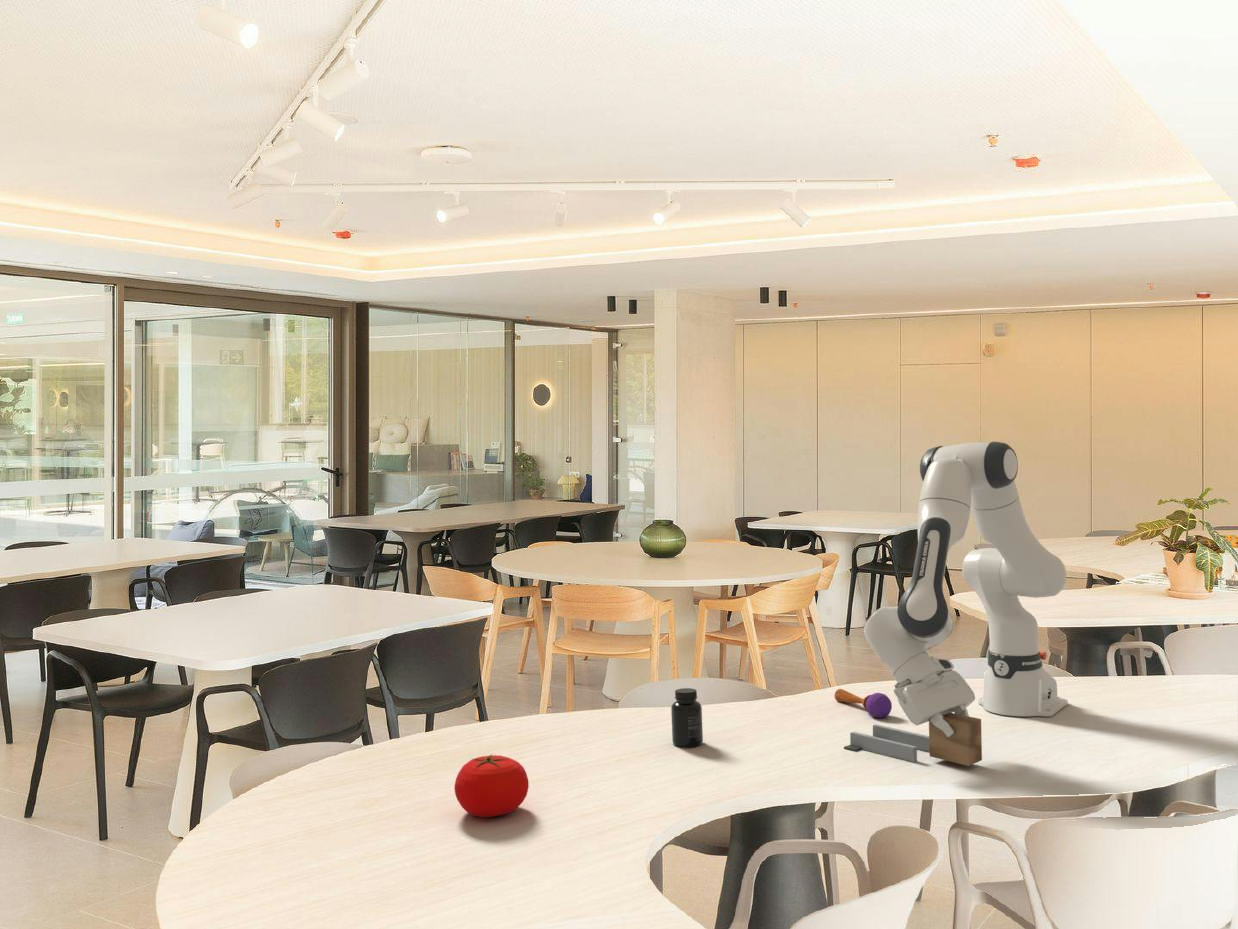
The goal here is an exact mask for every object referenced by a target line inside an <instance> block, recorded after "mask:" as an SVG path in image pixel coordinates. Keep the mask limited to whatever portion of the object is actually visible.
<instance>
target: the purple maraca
mask: <svg viewBox="0 0 1238 929" xmlns="http://www.w3.org/2000/svg"><path fill="white" fill-rule="evenodd" d="M834 699H835V701H836V702H838V703H847V704H848V703H849V704H850V703H851V704H861V705H862V706H863V708H864V710H865V711H866V712H867V713H868V714H869V715H870V716H871V718H872V717H873V718H875V719H884V718H886V717H888V716H889V715H890V713H891V712H892V709H893V708H892V706H893V705H892V704H893V703H892V701H891V699H890V698H889V697H888V696H887V694H886V693H885V694H884V693H881V692H874V693H872V694H869V695H867V696H865V697H864V698H862V697H860V696H858V695H855V694H853V693H851V692H849V691H847V690H846V689H845V690H844V689H842V688H838V689H836V691H835V692H834Z"/></svg>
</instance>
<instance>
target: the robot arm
mask: <svg viewBox="0 0 1238 929" xmlns="http://www.w3.org/2000/svg"><path fill="white" fill-rule="evenodd" d="M1018 462H1019V461H1018V457H1017V454H1016V452H1015V450H1014V448H1012V447H1011V446H1010V445H1009V444H1008V443H1005V442H1003V441H1002V442H1001V441H1000V442H999V441H991V442H981V441H979V442H978V441H977V442H976V441H973V442H972V441H971V442H964V443H957V444H952V445H946V446H943V445H939V446H935V447H932V448H929V449H927V450H926V451H925V453H924V454H923V456H922V457H921V459H920V464H919V473H920V478H921V480H922V485H921V489H920V494H919V499H918V503H917V504H918V505H917V513H916V514H917V519H916V524H917V525H916V527H917V528H916V530H917V547H916V548H917V549H916V552H915V553H916V554H915V559H914V564H913V570H912V577H911V578H910V582H909V585H908V586H907V588H906V590H904V593H903V594H902V595H901V597H900V599H899V601H898V604H897V605H896V606H881V607H879V608H878V609H876V610H875V611H874V612H872V613H871V615H869V617H868V618H867V620H866V622H865V623H864V627H863V634H864V637H865V638H866V641H867V643H868V644H869V646H870V647H871V649H872V650H873V652H874V653H875V655H876V656H877V657H878V658H879V660H880V661H881V662H882V663H884V664H885V665H886V666H887V668H888V669H889V671H890V673H891V676H892V677H893V678H894V680H895V681H896V683H894V685H893V686H894V687H893V693H894V695H895V696H896V699H897V702H898V704H899V706H900V708H901V709H902V711H903V712H904V714H905V716H906V717H907V719H908V720H909V722H910V723H912V724H913V725H915V726H920V725H922V724H925V723H927V722H928V723H929V721H931V722H932V723H933V725H935V726H936V727H938V728H939V729H941V730H943V732H944V733H945V734H946V736H948V737H950V736H952V735H954V734H955V733H956V729H955V728H954V726H953V725H952V724H950V725H949V724H948V723H947V722H946V721H945V720H943V716H942V715H944V714H947V713H955V714H959V715H964V716H969V717H970V715H969V712H968V707H969V706H970V705H971V704H972V703H973V702H974V701H975V700H976V696H975V692H974V690H973V689H972V688H971V686H970V685H969V684H968V682H967V681H966V680H965V679H964V678H963V677H962V675H961V674H960V673H959V672H957V671H956V670H953V669H954V668H955V666H954V664H953V662H952V661H951V660H950V659H944V658H937V657H934V656H931V655H930V654H929V653H928V651H927V650H929V649H930V650H931V649H932V648H934V647H937V646H938V645H940V644H942V643H943V642H945V641H946V640H948V638H949V637H950V636H951V635H952V633H953V629H954V619H953V616H952V613H951V611H950V609H949V608H948V604H947V602H946V601H947V600H946V597H945V595H944V591H943V588H944V587H943V584H944V580H945V573H946V567H947V566H946V565H947V562H948V560H947V559H948V555H949V552H950V550H951V548H952V546H954V545H956V544H958V543H959V542H960V541H962V540H963V538H964V537H965V534H966V531H967V528H968V524H969V519H970V515H971V511H972V514H973V515H972V516H973V519H974V523H975V528H976V531H977V534H978V536H980V537H981V539H983V540H984V542H987V543H988V544H990V545H991V546H993V547H985V548H977V549H972V550H970V551H969V552H968V554H966V555H965V557H964V559H963V560H962V561H963V562H962V566H961V571H962V572H961V573H962V577H963V579H964V581H965V584H967V585H968V586H969V587H970V588H971V589H972V590H973V591H974V592H975V594H976V595H977V596H978V599H980V601H981V603H982V605H983V608H984V610H985V613H986V617H987V623H988V633H989V638H988V639H989V649H988V651H987V657H986V658H987V665H988V666H989V667H988V668H987V669H986V670H985V671H984V673H983V681H982V682H983V684H982V686H983V687H982V697H980V698H978V702H977V703H978V704H979V705H981V706H982V708H983V710H986V711H987V712H990V713H993V714H998V715H1002V716H1009V717H1052V716H1054V715H1055V714H1057V713H1058V712H1059V711H1060V710H1062V709H1064V708H1065V707H1066V706H1068V699H1066V698H1064V697H1061V696H1058V684H1057V683H1058V682H1057V680H1056V679H1055V678H1054V677H1053V676H1052V675H1051V674H1050V673H1048V671H1046V670H1045V668H1043V666H1044V665H1043V662H1042V660H1044V661H1045V660H1046V659H1047V657H1048V654H1047V651H1045V650H1044V651H1041V650H1039V628H1038V626H1039V624H1038V622H1037V619H1036V618H1035V617H1036V616H1034V615H1033V614H1032V613H1030V611H1028V610H1027V609H1025V608H1024V606H1023V605H1022V604H1021V602H1020V599H1019V597H1026V598H1033V599H1037V598H1048V597H1055V596H1057V595H1059V593H1060V592H1062V591H1063V589H1064V587H1065V585H1066V581H1067V570H1066V566H1065V565H1064V563H1063V561H1062V560H1061V558H1059V557H1058V556H1056V555H1055V554H1054V553H1052V552H1050V551H1049V550H1048V549H1047V548H1046V547H1045V546H1043V545H1042V543H1041V542H1040V541H1039V540H1038V539H1037V538H1036V536H1035V535H1034V534H1033V532H1032V530H1031V529H1030V527H1029V525H1028V522H1027V520H1026V517H1025V514H1024V510H1023V507H1022V505H1021V504H1022V503H1021V501H1020V495H1019V493H1018V489H1017V488H1018V487H1017V485H1016V482H1015V479H1016V477H1017V475H1018V469H1019V465H1018V464H1019V463H1018Z"/></svg>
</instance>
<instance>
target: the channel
mask: <svg viewBox="0 0 1238 929" xmlns="http://www.w3.org/2000/svg"><path fill="white" fill-rule="evenodd" d="M849 737H850V738H849V740H850V741H849V742H850V743H849V744H848V745H846V746H843V749H844V750H848V751H852V752H858V751H860V750H864V751H867V752H871V753H874V754H875V753H876V754H879V755H884V756H888V757H891V758H896V759H899V760H904V761H908V762H910V763H911V762H912V763H915V762H918V750H919V751H923V752H928V753H930V752H929V735H924V734H920V733H915V732H911V731H907V730H904V729H903V730H902V729H899V728H893V727H890V726H886V725H882V724H876V723H875V724H873V725H872V735H869V734H865V733H862V732H858V731H851V732H850V733H849Z"/></svg>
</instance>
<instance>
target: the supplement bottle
mask: <svg viewBox="0 0 1238 929" xmlns="http://www.w3.org/2000/svg"><path fill="white" fill-rule="evenodd" d="M674 694H675V696H674V699H675V701H674V702H673V703H672V704H671V708H670V709H671V710H670V711H671V735H672V736H671V737H672V744H673V745H674V746H675V745H676V746H675V747H678V746H679V748H695V747H699V746H701V745H702V744H703V742H704V740H703V738H704V737H703V734H704V733H703V732H704V731H703V707H702V704H701V702H699V701H697V699H698V694H697V689H695V688H691V687H690V688H689V687H682V688H677V689H676V690H675V691H674Z"/></svg>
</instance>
